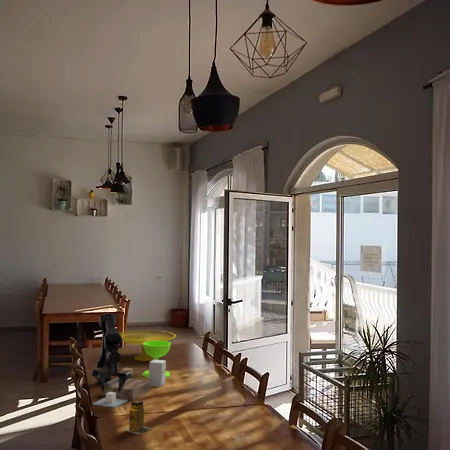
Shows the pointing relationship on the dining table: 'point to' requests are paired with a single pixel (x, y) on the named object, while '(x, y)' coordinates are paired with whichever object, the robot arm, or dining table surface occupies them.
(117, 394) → the case
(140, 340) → the cake stand
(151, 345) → the wineglass
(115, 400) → the cover
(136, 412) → the condiment
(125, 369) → the latch
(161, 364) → the supplement box
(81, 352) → the dining table surface
